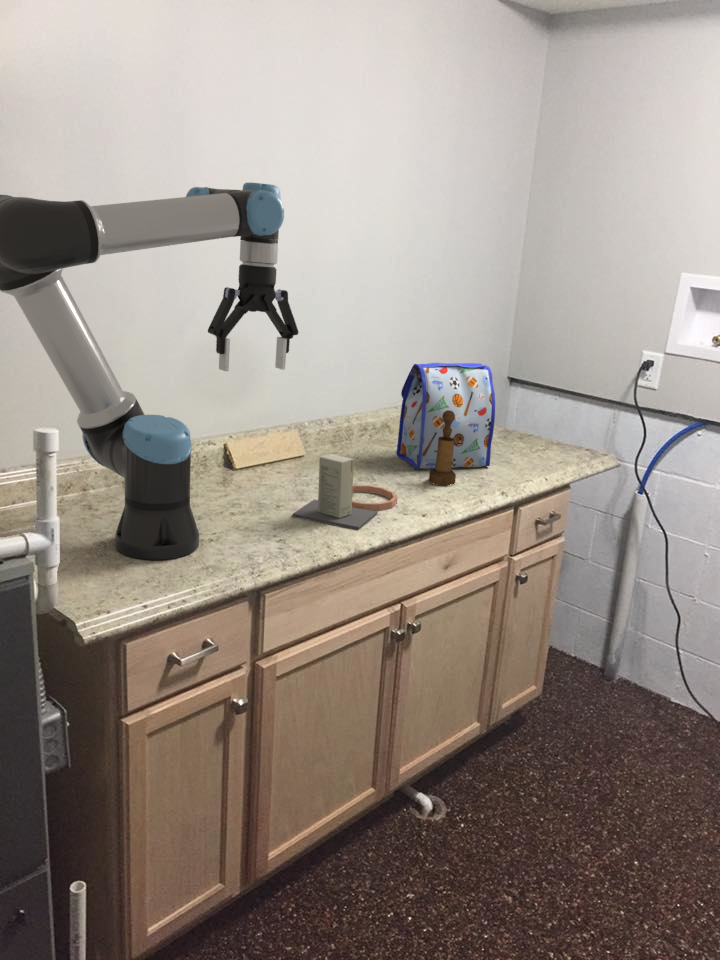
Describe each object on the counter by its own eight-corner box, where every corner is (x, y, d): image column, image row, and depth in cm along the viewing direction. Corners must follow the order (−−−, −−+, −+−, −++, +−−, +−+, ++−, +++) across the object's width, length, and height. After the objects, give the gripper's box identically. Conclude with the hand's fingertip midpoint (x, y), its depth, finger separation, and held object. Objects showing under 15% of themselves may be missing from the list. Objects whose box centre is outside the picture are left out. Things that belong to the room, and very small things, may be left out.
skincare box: (352, 514, 178) (356, 459, 174) (339, 519, 175) (342, 462, 171) (329, 506, 182) (332, 452, 178) (315, 511, 178) (319, 455, 175)
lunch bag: (462, 451, 237) (473, 357, 229) (494, 468, 223) (506, 368, 215) (390, 455, 228) (398, 357, 220) (418, 473, 214) (428, 368, 206)
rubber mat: (358, 529, 171) (359, 527, 171) (292, 516, 176) (292, 513, 176) (377, 514, 181) (377, 511, 181) (313, 502, 186) (314, 499, 186)
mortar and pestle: (453, 487, 204) (461, 415, 199) (427, 484, 205) (434, 412, 200) (456, 480, 210) (463, 409, 205) (430, 476, 211) (437, 406, 206)
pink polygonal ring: (384, 514, 181) (384, 508, 181) (326, 503, 186) (326, 496, 185) (403, 497, 193) (404, 491, 193) (349, 487, 198) (349, 481, 197)
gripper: (299, 266, 179) (292, 364, 185) (193, 259, 164) (189, 367, 170) (319, 269, 174) (311, 370, 180) (211, 262, 159) (207, 374, 165)
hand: (252, 369), depth 175 cm, fingers open, 13 cm apart
